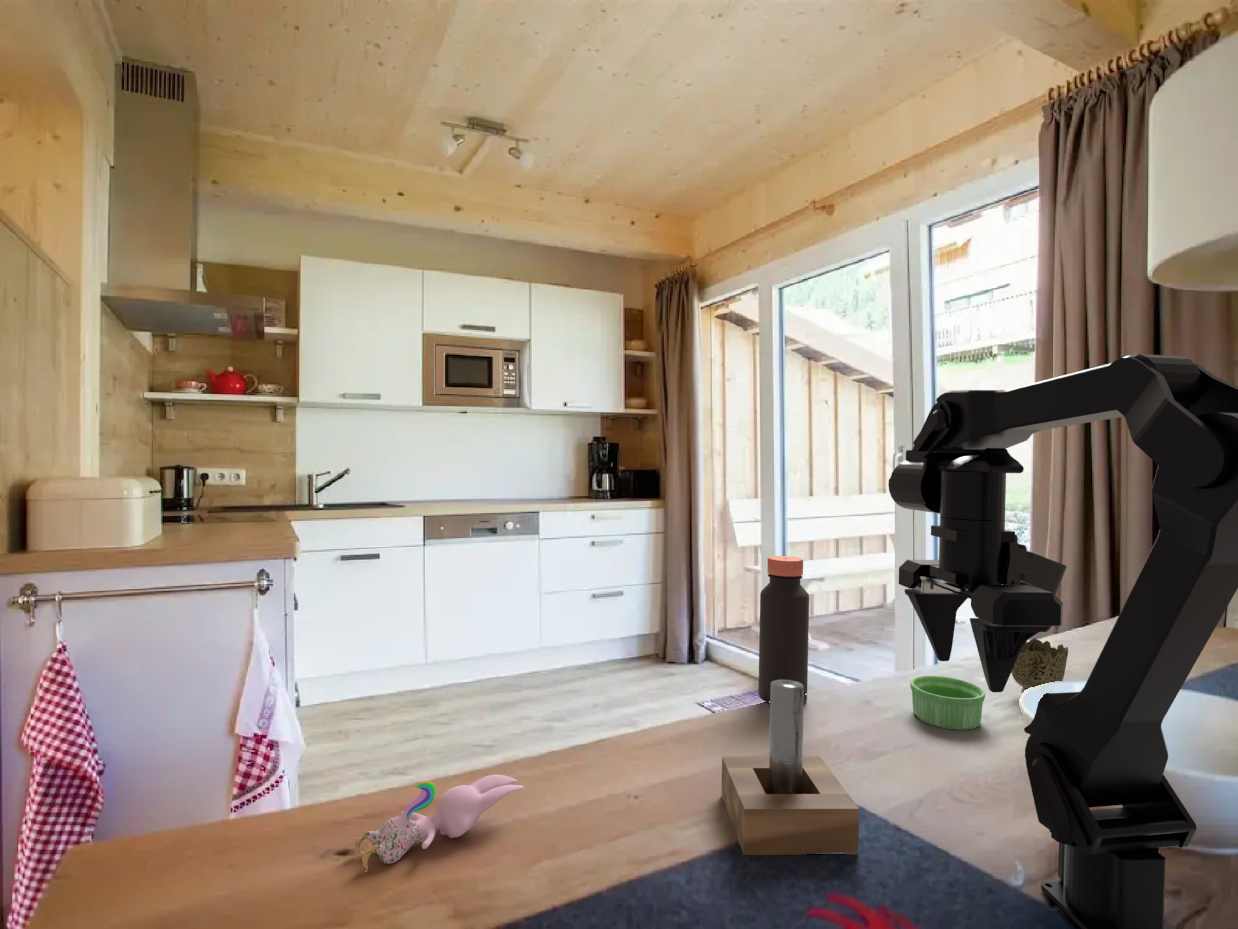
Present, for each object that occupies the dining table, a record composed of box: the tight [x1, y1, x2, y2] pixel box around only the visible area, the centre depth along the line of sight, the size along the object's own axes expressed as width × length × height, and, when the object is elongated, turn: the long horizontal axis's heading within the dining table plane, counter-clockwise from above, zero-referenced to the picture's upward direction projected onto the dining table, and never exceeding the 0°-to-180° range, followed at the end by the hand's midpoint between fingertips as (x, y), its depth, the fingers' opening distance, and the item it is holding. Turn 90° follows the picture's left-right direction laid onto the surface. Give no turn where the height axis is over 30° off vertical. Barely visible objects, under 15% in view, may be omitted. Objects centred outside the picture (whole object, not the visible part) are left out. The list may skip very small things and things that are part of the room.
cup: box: [1011, 637, 1069, 694], centre depth 96 cm, size 8×7×8 cm
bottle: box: [757, 555, 810, 704], centre depth 95 cm, size 7×7×20 cm
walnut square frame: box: [720, 755, 860, 856], centre depth 63 cm, size 10×10×4 cm
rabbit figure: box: [353, 774, 525, 873], centre depth 59 cm, size 6×6×15 cm
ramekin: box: [909, 675, 986, 731], centre depth 89 cm, size 9×9×4 cm
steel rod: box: [769, 680, 804, 794], centre depth 63 cm, size 3×3×13 cm
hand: (968, 675), depth 66 cm, fingers open, 9 cm apart
